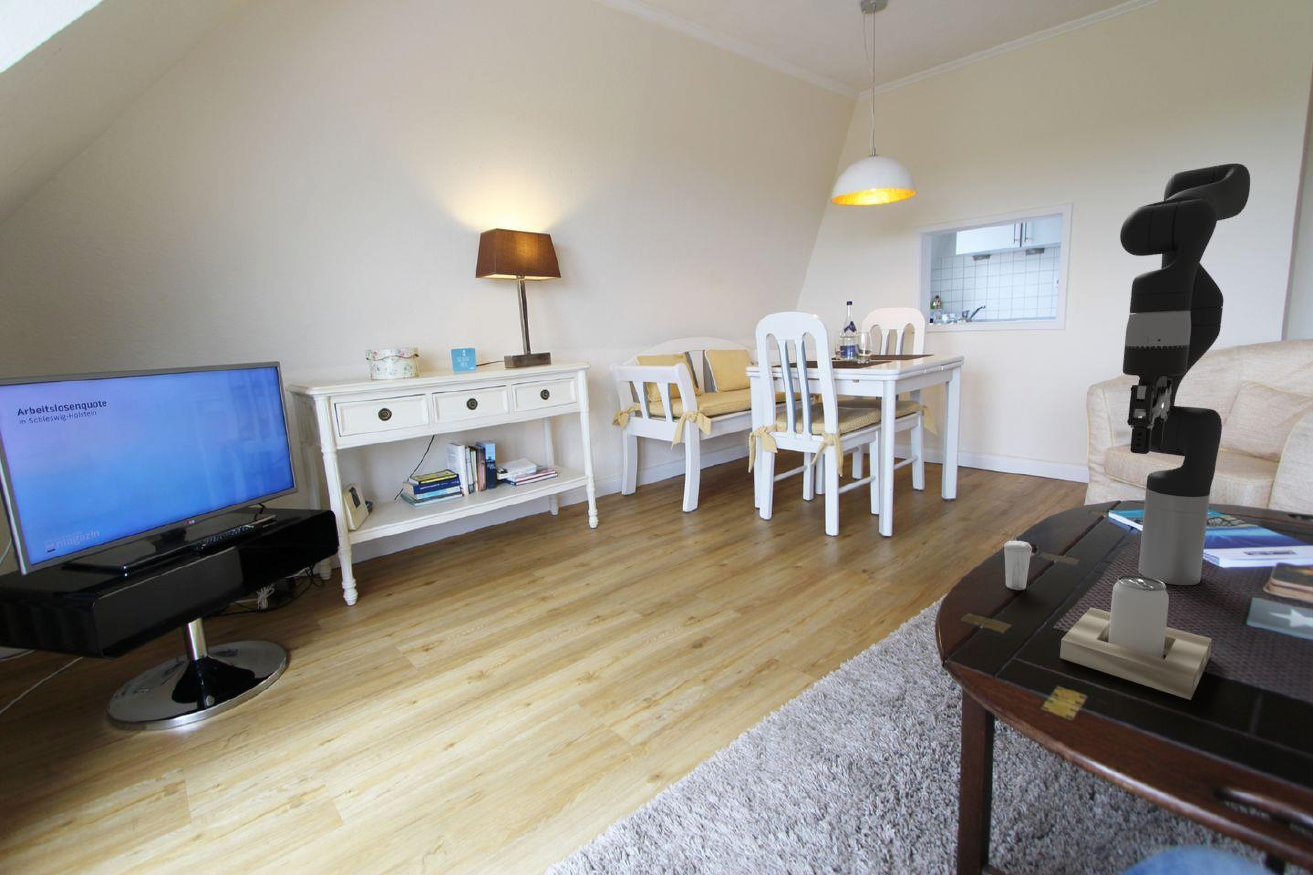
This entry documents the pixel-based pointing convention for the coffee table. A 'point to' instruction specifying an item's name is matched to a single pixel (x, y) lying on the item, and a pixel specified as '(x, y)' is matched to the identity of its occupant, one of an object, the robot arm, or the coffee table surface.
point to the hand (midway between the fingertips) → (1146, 448)
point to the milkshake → (1017, 563)
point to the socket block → (1138, 655)
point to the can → (1139, 614)
